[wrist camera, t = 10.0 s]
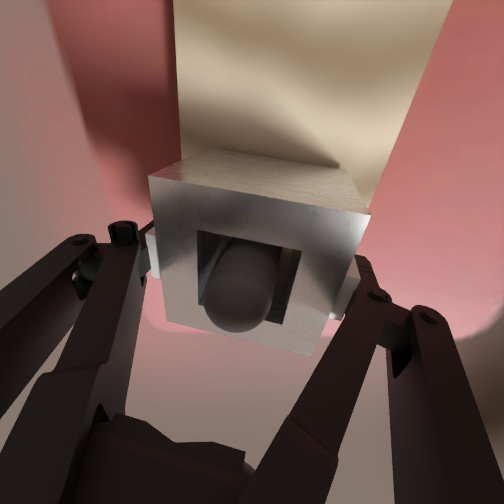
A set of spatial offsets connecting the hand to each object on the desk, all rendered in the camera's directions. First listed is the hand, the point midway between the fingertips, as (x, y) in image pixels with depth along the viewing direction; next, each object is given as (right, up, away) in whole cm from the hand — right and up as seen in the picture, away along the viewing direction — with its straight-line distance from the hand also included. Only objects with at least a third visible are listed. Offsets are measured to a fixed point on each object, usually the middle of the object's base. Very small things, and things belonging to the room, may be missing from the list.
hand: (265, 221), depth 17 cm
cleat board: (+1, +4, 0) cm, 5 cm away
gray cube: (0, 0, 0) cm, 0 cm away
